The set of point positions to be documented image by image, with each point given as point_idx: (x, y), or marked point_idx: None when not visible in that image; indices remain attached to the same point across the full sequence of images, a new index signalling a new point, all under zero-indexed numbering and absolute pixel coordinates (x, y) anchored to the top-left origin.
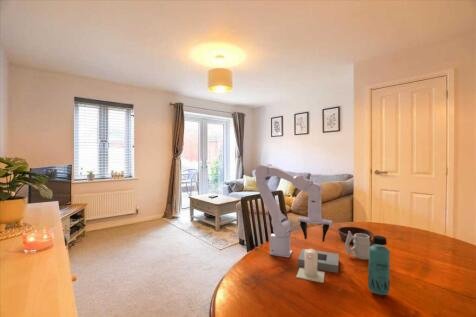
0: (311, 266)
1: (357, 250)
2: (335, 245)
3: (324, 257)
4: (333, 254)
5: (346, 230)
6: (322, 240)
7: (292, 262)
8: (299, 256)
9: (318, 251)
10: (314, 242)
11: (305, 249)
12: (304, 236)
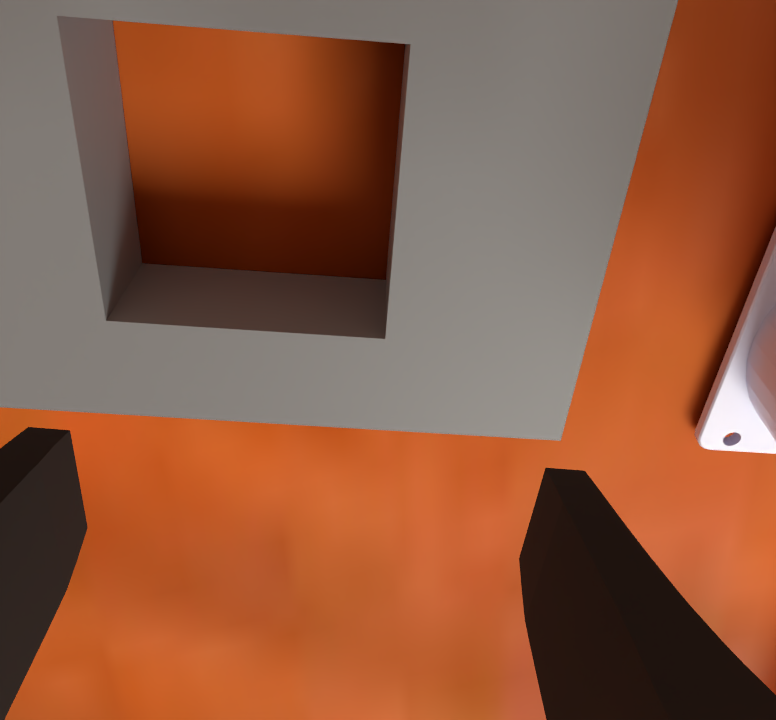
0: None
1: None
2: (125, 704)
3: (167, 294)
4: (2, 361)
5: None
6: (50, 446)
7: (746, 26)
8: (650, 62)
9: (272, 405)
10: (372, 717)
11: (502, 421)
12: (619, 518)
